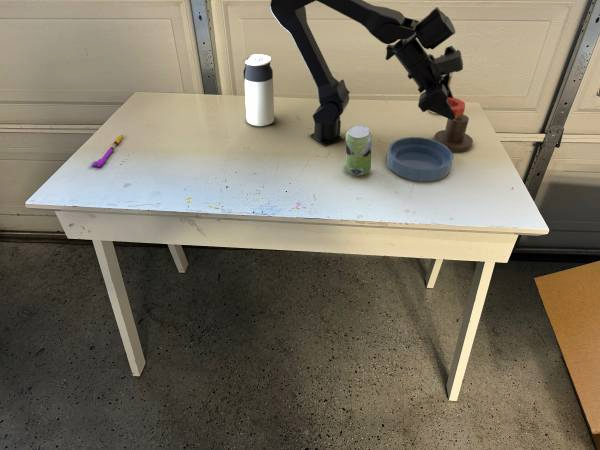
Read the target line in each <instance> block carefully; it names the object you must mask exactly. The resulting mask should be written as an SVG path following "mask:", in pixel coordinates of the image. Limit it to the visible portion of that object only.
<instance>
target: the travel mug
mask: <svg viewBox="0 0 600 450" xmlns="http://www.w3.org/2000/svg"><path fill="white" fill-rule="evenodd" d="M271 62H272V58H271V56H269V55H266V54H259V53H257V54H250V55H247V56H245V57H243V63H244V66H245V67H244V69H243V84H244V86H243V87H244V97H245V110H246V122H247V123H248V124H250V125H252V126H255V127H264V126H268V125H269V126H270V124H273V123H274V121H275V104H274V103H275V102H274V75H273V74H274V72H273V68H272V67H271Z"/></svg>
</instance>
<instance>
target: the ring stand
mask: <svg viewBox="0 0 600 450" xmlns="http://www.w3.org/2000/svg"><path fill="white" fill-rule="evenodd" d="M469 121H470V118H469V116H468V115H466V114H464V113H463V114H460V115H457V116H455V119H453V120H450V119H448V118H447V119H446V125H445V128H444V129H441V130H439V131H436V133H435V134H434V136H433V140H435V141H438V142H440V143H442V144H444V145H445V146H447V147H448V148H449V149H450V150H451V152H452V153H455V154H457V153H466V152H469V150H470V149H471V148H472V145H473V142H474V141H473V138H472V137H471V136H470V135H469V134H468V133H466V132H467V128H468V124H469Z"/></svg>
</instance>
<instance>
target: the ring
mask: <svg viewBox="0 0 600 450" xmlns="http://www.w3.org/2000/svg"><path fill="white" fill-rule="evenodd" d="M447 100H448V102H449V104H450V106H452V107H451V108H452V110H453V112H454V115H455V116H457V115H460V114H464V113H465V108H466V102H464V101H463V100H461V99H458V98H456V97H453V98H450V97H447Z"/></svg>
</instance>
